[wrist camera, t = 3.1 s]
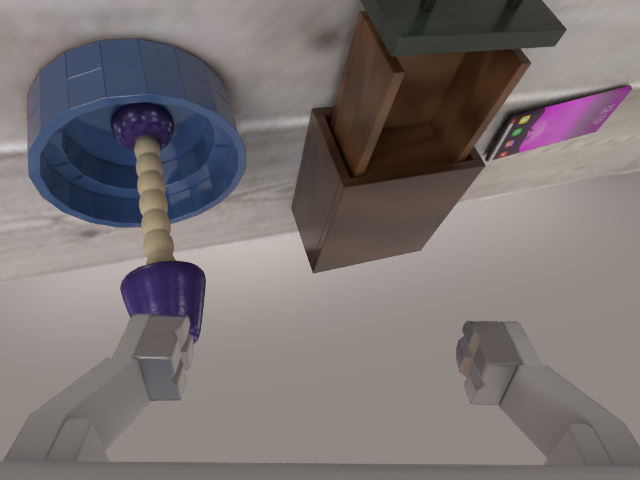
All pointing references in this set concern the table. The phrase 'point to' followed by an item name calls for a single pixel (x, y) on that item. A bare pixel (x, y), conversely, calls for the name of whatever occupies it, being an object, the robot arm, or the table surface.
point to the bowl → (103, 148)
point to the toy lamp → (156, 223)
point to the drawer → (431, 78)
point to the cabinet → (369, 203)
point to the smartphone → (556, 122)
